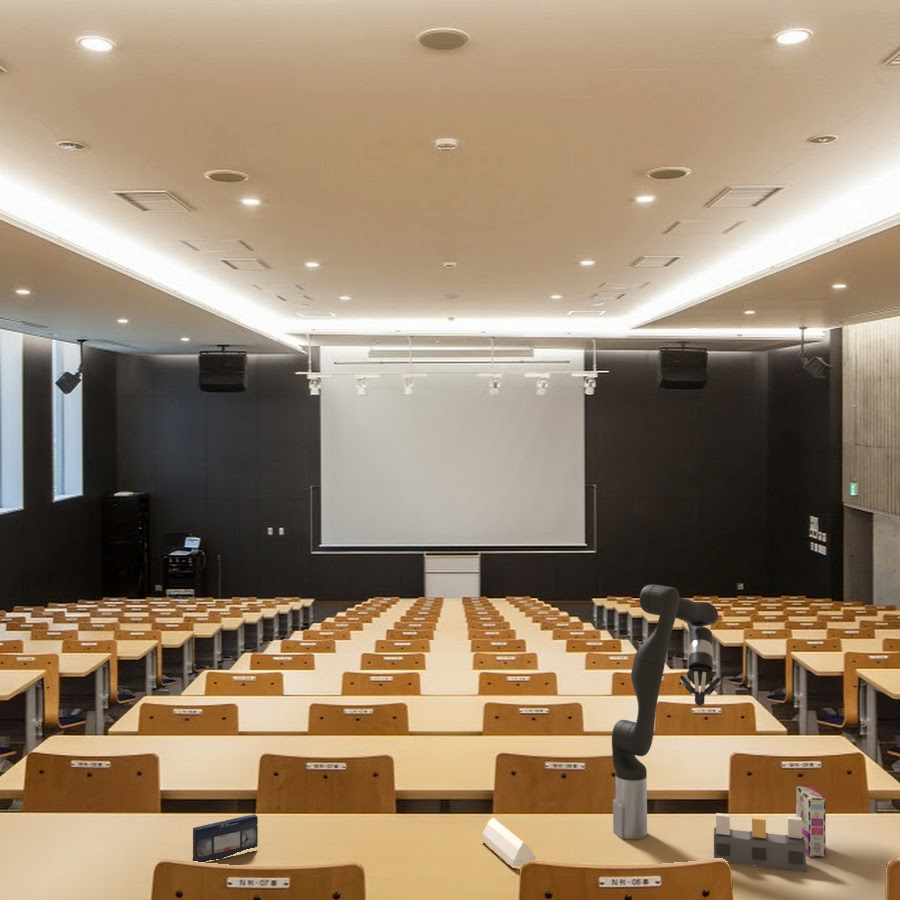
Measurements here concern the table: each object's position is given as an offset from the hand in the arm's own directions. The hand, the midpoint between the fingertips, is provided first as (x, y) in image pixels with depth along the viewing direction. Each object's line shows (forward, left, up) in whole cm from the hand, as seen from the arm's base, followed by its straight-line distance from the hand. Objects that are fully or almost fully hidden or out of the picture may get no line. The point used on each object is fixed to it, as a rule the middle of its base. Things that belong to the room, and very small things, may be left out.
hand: (699, 704), depth 292 cm
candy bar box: (+20, -27, -36) cm, 49 cm away
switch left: (-8, -28, -28) cm, 40 cm away
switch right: (+10, -35, -28) cm, 46 cm away
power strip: (+1, -31, -36) cm, 48 cm away
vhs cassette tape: (-143, +8, -36) cm, 148 cm away
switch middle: (0, -32, -28) cm, 43 cm away
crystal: (-65, -9, -36) cm, 75 cm away
